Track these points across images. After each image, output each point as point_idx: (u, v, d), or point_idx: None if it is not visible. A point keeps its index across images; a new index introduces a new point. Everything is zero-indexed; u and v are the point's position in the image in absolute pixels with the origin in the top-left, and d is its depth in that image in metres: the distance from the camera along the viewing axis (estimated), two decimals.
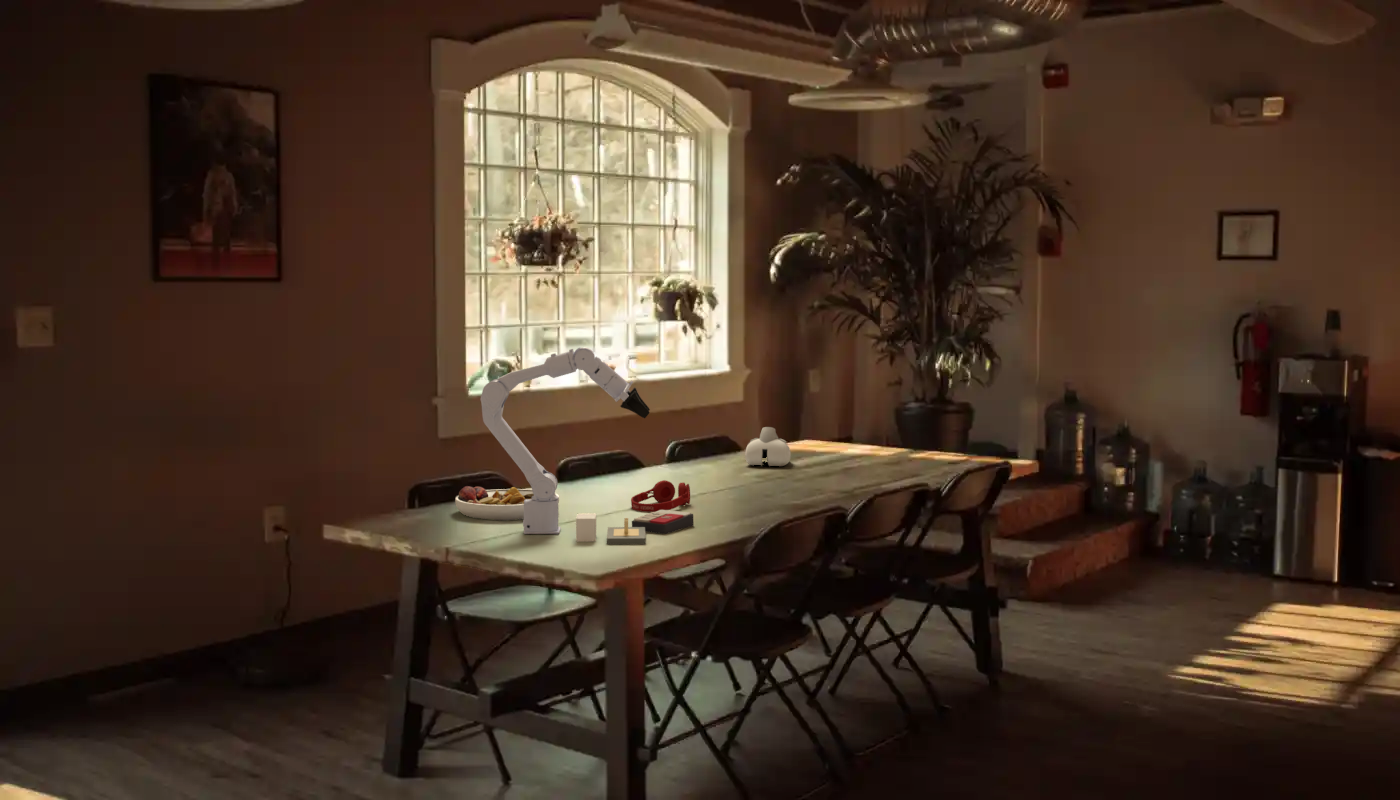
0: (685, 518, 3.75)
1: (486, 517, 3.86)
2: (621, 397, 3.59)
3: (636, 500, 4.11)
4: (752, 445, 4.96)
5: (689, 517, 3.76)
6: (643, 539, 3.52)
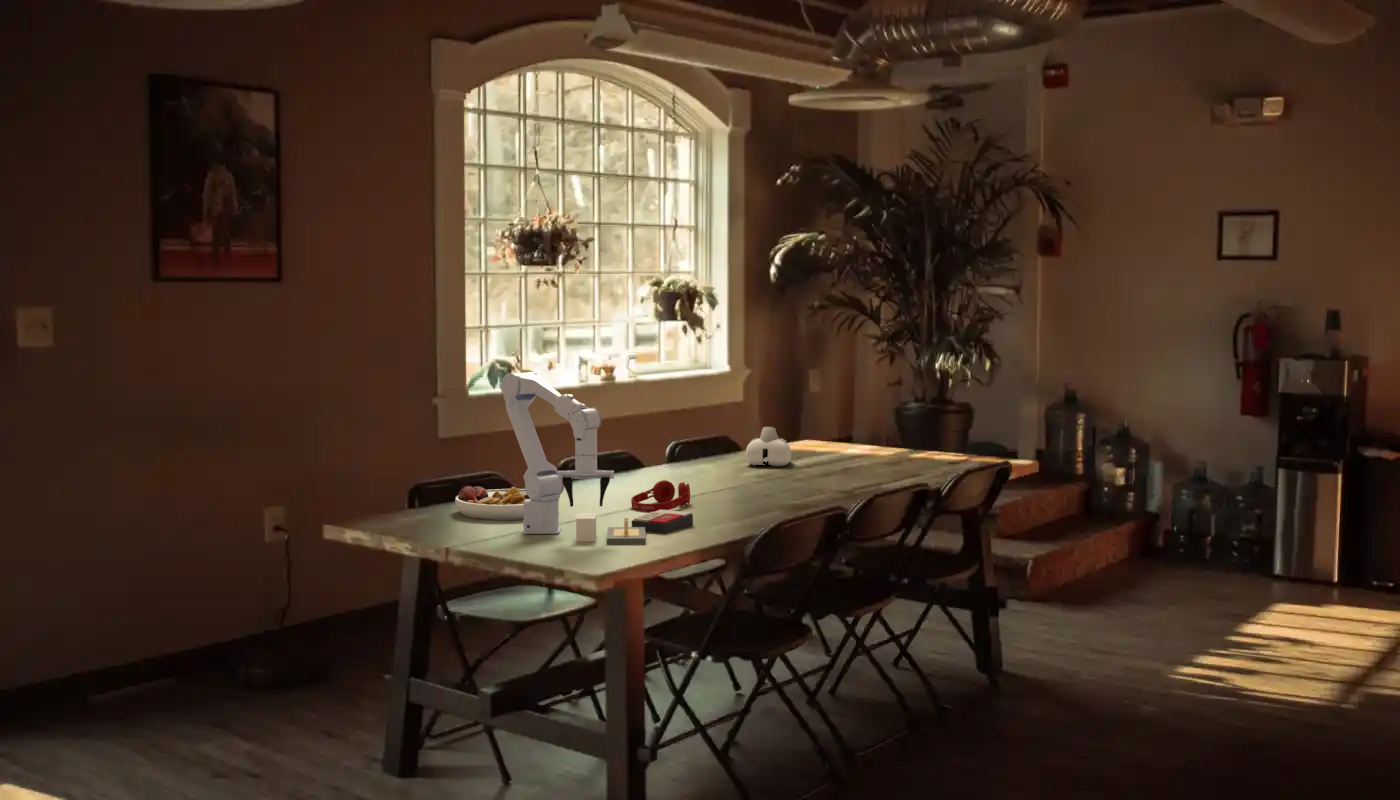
0: (685, 518, 3.75)
1: (486, 517, 3.86)
2: None
3: (636, 500, 4.11)
4: (752, 445, 4.97)
5: (688, 517, 3.77)
6: (643, 539, 3.52)
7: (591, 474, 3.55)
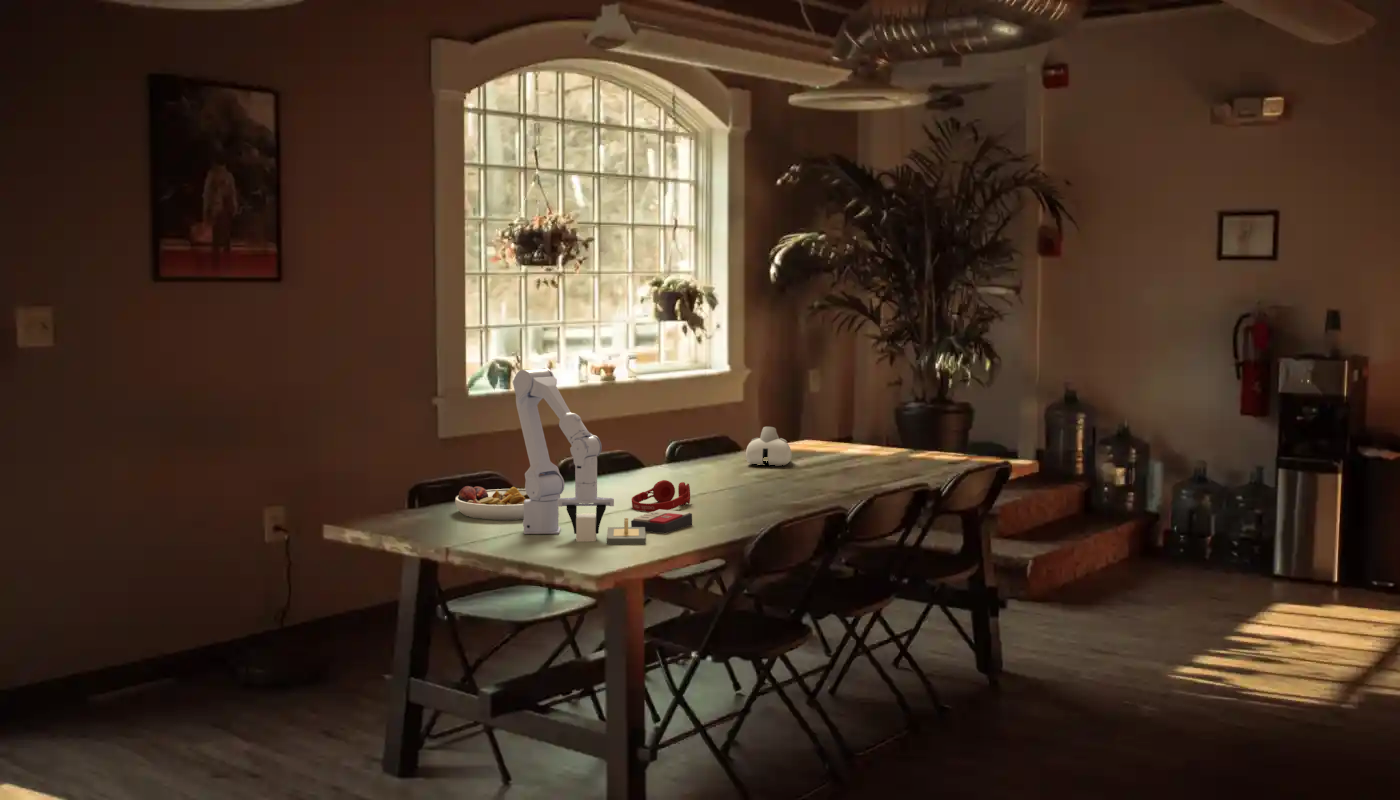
0: (684, 518, 3.75)
1: (486, 517, 3.86)
2: None
3: (636, 500, 4.11)
4: (752, 445, 4.98)
5: (688, 517, 3.77)
6: (643, 539, 3.52)
7: (591, 502, 3.56)
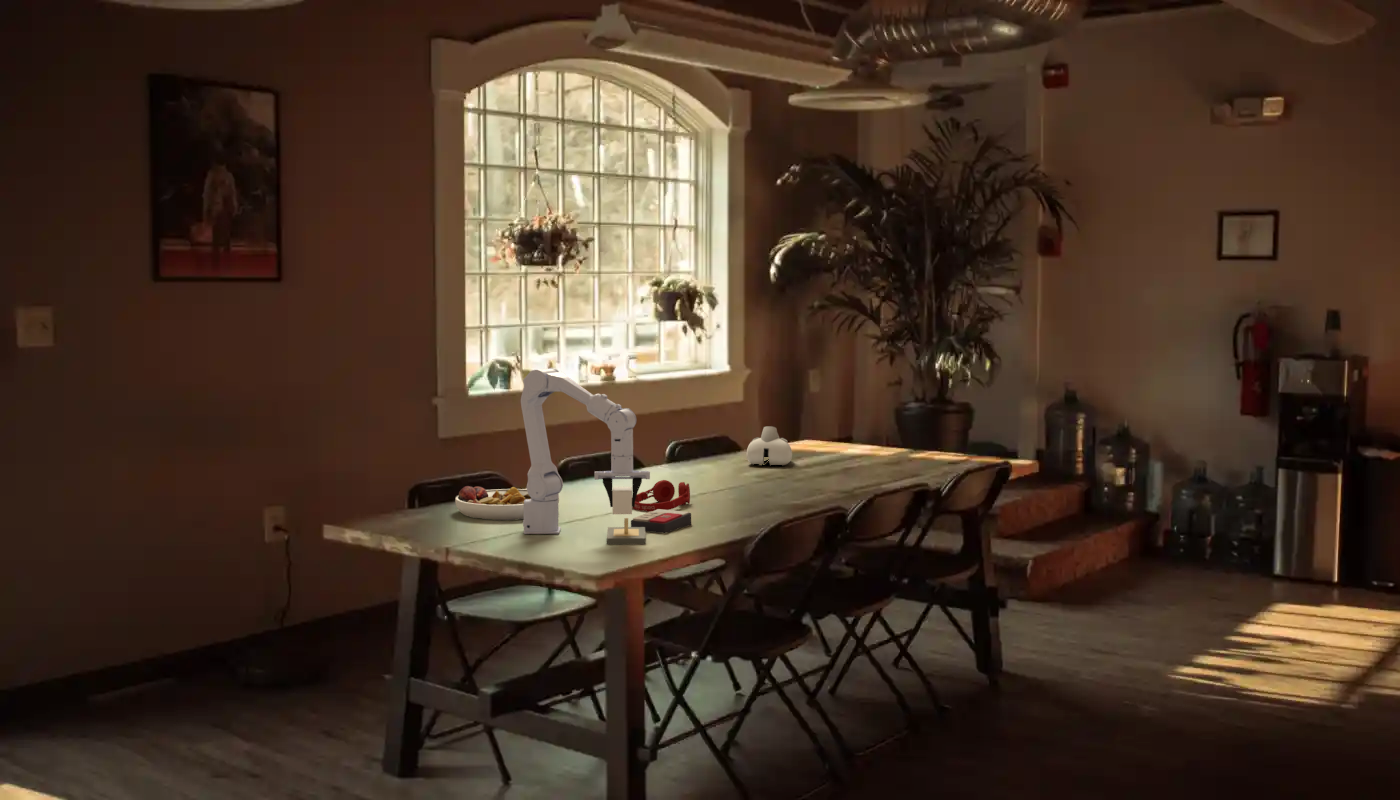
0: (683, 517, 3.76)
1: (486, 517, 3.86)
2: None
3: (636, 500, 4.11)
4: (753, 444, 4.98)
5: (687, 516, 3.78)
6: (643, 539, 3.52)
7: (627, 475, 3.56)
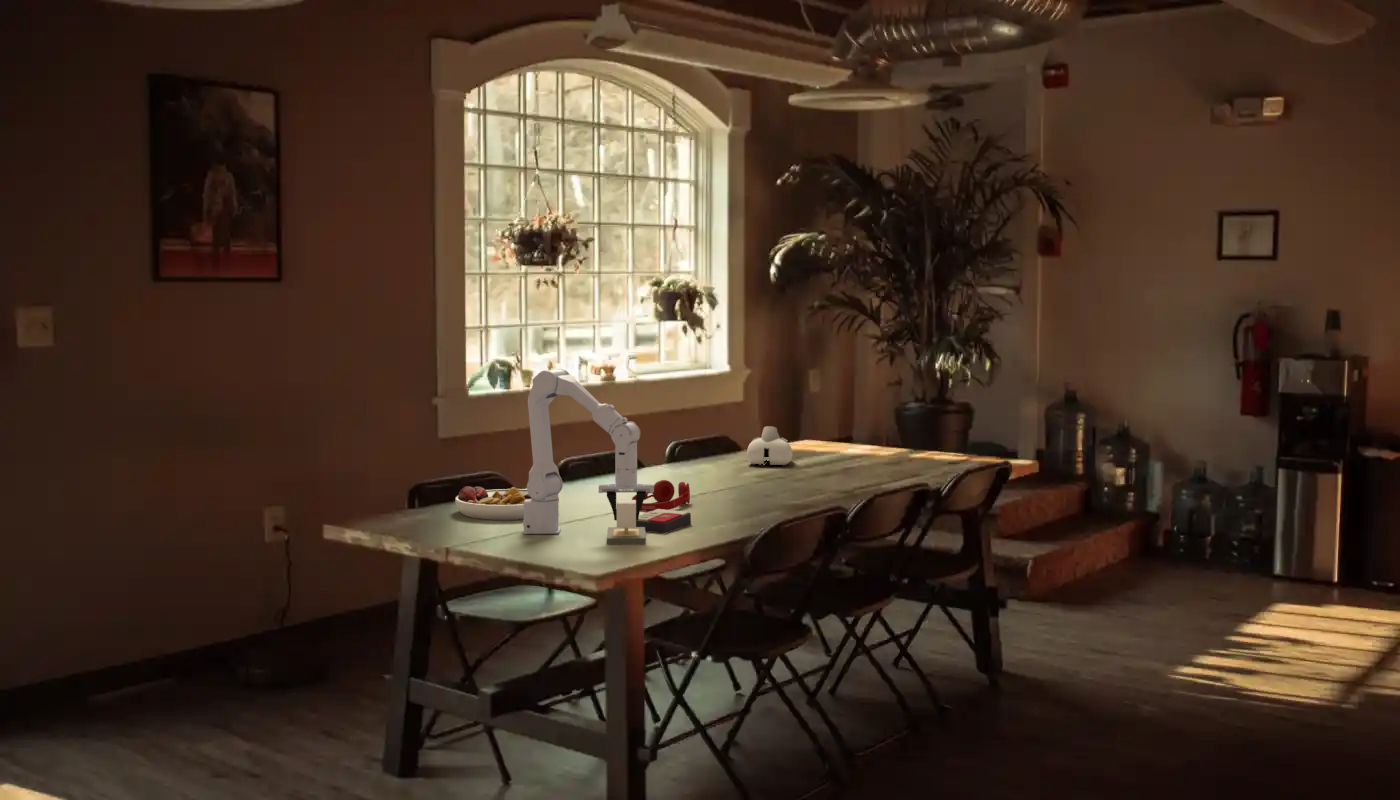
0: (683, 517, 3.76)
1: (486, 517, 3.86)
2: None
3: None
4: (753, 444, 4.99)
5: (687, 516, 3.78)
6: (643, 539, 3.52)
7: (631, 488, 3.56)
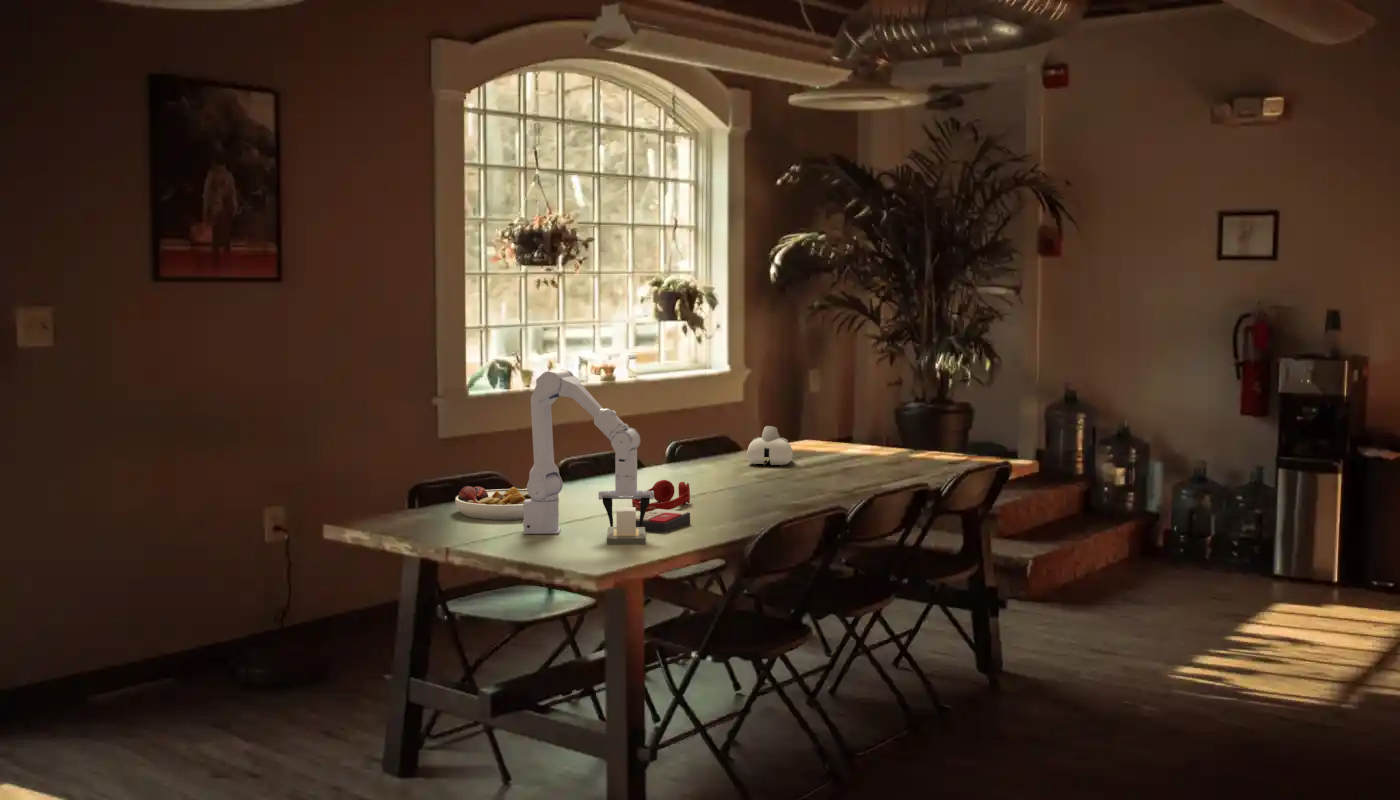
0: (683, 517, 3.77)
1: (486, 517, 3.86)
2: None
3: (636, 500, 4.12)
4: (754, 444, 4.99)
5: (686, 516, 3.78)
6: (643, 539, 3.52)
7: (631, 495, 3.56)
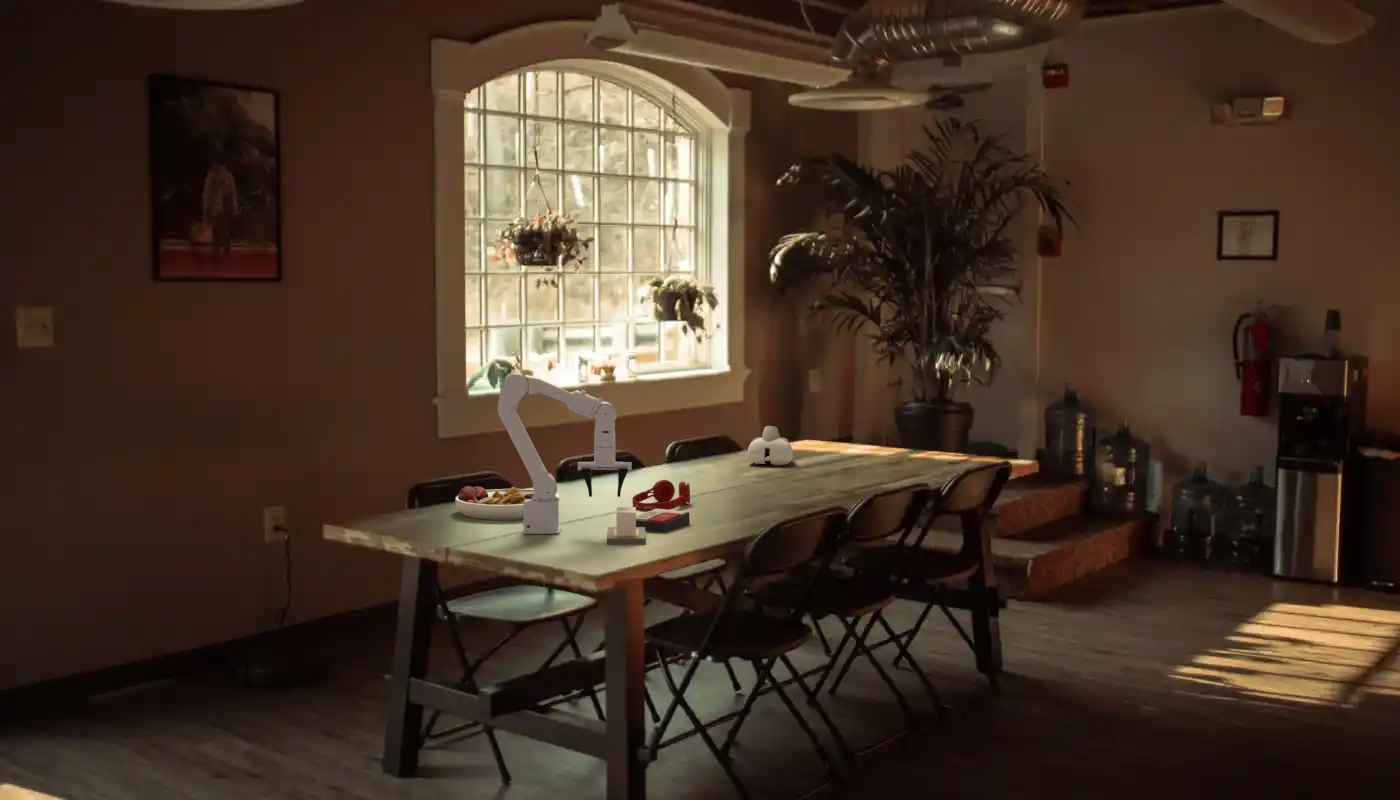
0: (682, 517, 3.77)
1: (486, 517, 3.86)
2: None
3: (637, 500, 4.12)
4: (754, 444, 5.00)
5: (686, 515, 3.79)
6: (643, 539, 3.52)
7: (609, 465, 3.67)
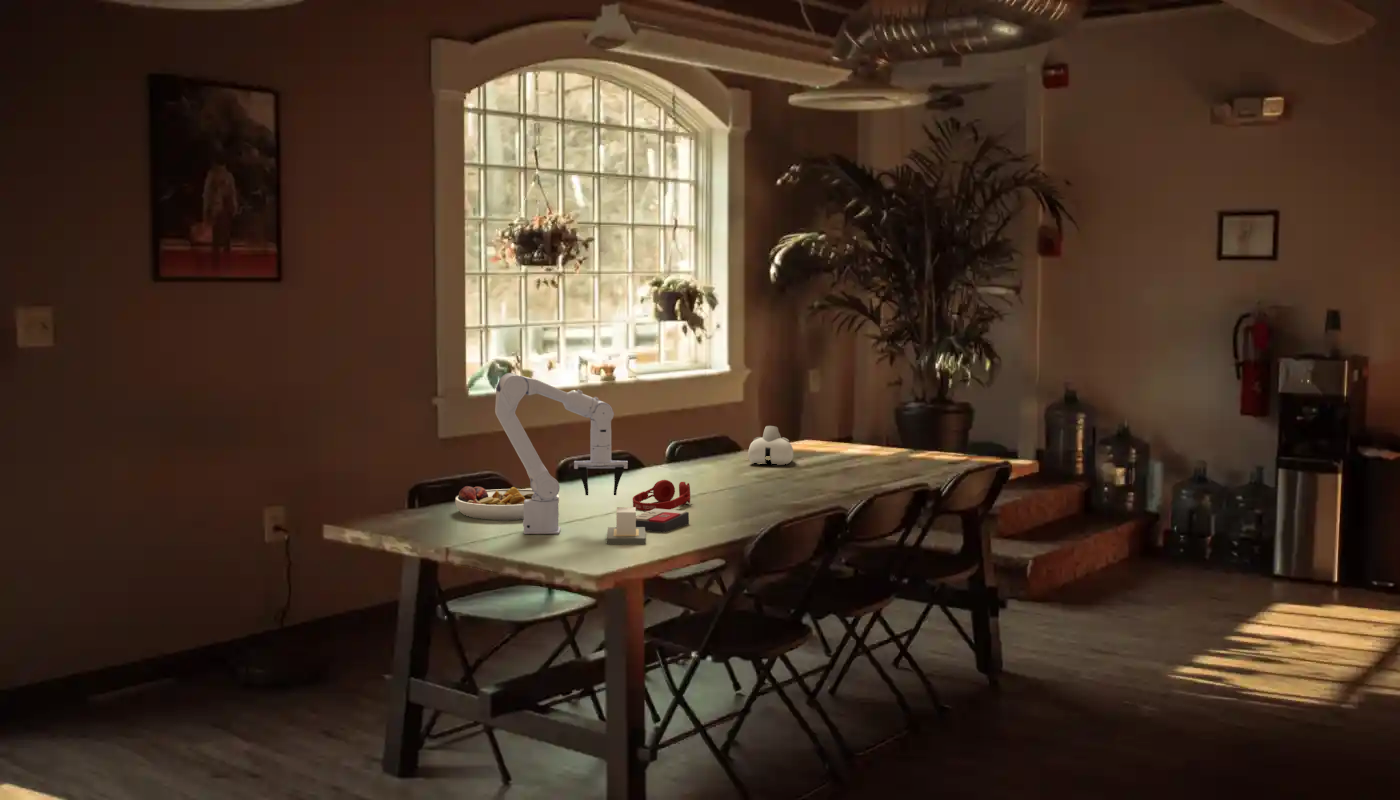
0: (682, 516, 3.77)
1: (486, 517, 3.86)
2: None
3: (637, 500, 4.12)
4: (755, 444, 5.00)
5: (685, 515, 3.79)
6: (643, 539, 3.52)
7: (606, 464, 3.69)
